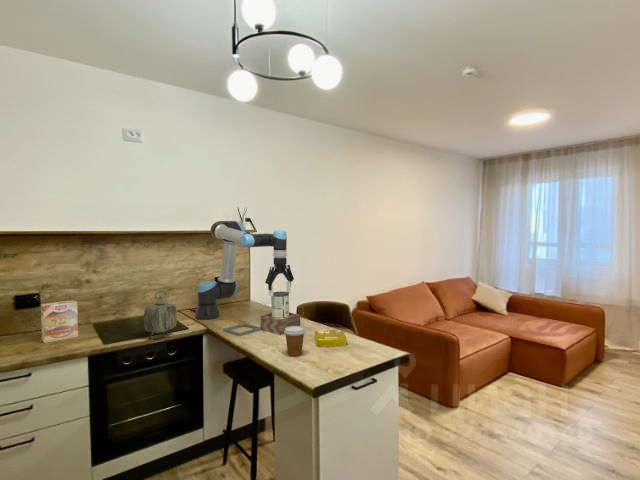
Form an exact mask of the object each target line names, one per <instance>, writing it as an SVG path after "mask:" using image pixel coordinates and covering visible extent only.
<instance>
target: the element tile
mask: <svg viewBox="0 0 640 480" xmlns="http://www.w3.org/2000/svg"><path fill="white" fill-rule="evenodd" d="M314 342H315V345H316V347H317V348H337V347H339V348H342V347H347V336H346V335H345V333H344V331H343V330H342V329H341V330H340V329H337V330H336V329H335V330H334V329H333V330H315V332H314Z"/></svg>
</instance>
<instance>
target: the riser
mask: <svg viewBox="0 0 640 480" xmlns="http://www.w3.org/2000/svg"><path fill="white" fill-rule="evenodd" d="M290 326H301V314H298V313H295V312H290V311H289V317H288V318H284V319H275V318H272V312H271V313H270V312H269V313H266V314H263V315H260V328H261V330H260V331H264V332H268V333H271V334H274V335H277V336H278V335H279V336H282V335H285V333H284V331H285V328H287V327H290Z"/></svg>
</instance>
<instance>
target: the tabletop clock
mask: <svg viewBox="0 0 640 480" xmlns="http://www.w3.org/2000/svg"><path fill="white" fill-rule="evenodd" d="M159 293H164V296H159V297H157V295H158V294H159ZM166 296H167V292H166V291H165V290H159V291H157V292H156V293H155V294H154V298H155V299H156V301H155V303H153V304H149V305H147V306H146V307H145V308H144V312H143V324H144V325H143V326H144V330H145V331H146V332H151V334H150V335H148V337H147V339H149V340H151V339H152V336H153V335H154V334H155V333H156V334H161V333H162V338H164V339H165V338H166V337H167V335H168V334H169V331H170V330H172V329H174V328H176V326H177V321H178V320H177V319H178V316H177V315H178V314H177V313H178V312H177V308H176V305H175V304H173V303H166V300H165V299H164V298H165V297H166Z"/></svg>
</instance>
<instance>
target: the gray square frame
mask: <svg viewBox="0 0 640 480" xmlns="http://www.w3.org/2000/svg"><path fill="white" fill-rule="evenodd" d="M243 327H245V328H249V330H244V331H242V332H238V331H235V330H236V329H240V328H243ZM222 330H223V332H224V333H227V334H231V335H234V336H237V337H242V336H246V335H249V334H254V333H256V332H260V331H262V330H261V326H260V327H259V326H257V325H252V324H250V323H246V322H245V323H241V324H236V325H233V326H229V327H224V328H223V329H222Z"/></svg>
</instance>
